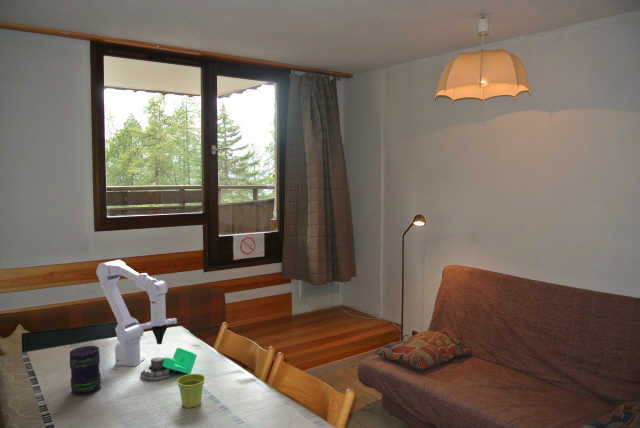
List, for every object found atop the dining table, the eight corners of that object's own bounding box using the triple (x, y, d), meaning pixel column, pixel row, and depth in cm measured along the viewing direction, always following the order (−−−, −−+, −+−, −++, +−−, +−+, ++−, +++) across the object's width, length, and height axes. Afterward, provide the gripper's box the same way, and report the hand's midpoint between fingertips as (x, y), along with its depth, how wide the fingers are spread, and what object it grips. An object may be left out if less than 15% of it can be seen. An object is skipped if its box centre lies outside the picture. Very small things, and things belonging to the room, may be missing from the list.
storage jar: (70, 398, 167) (68, 357, 166) (71, 388, 176) (69, 348, 175) (101, 392, 172) (100, 352, 170) (100, 382, 180) (98, 344, 179)
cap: (149, 374, 185) (148, 361, 184) (154, 369, 190) (154, 356, 189) (161, 374, 184) (160, 361, 184) (166, 369, 189) (166, 356, 189)
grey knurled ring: (134, 380, 181) (133, 373, 181) (150, 367, 194) (149, 360, 194) (166, 381, 180) (166, 374, 180) (180, 368, 193) (180, 361, 193)
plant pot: (211, 399, 165) (210, 375, 164) (195, 412, 156) (194, 386, 155) (188, 396, 168) (187, 372, 167) (171, 408, 159) (170, 383, 158)
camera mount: (199, 354, 189) (179, 350, 182) (192, 374, 187) (171, 370, 180) (182, 348, 197) (161, 343, 189) (175, 367, 195) (154, 362, 187)
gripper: (143, 316, 185) (144, 350, 186) (179, 310, 194) (180, 342, 195) (137, 312, 191) (138, 345, 192) (173, 306, 200) (173, 338, 201)
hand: (159, 343), depth 194 cm, fingers closed
